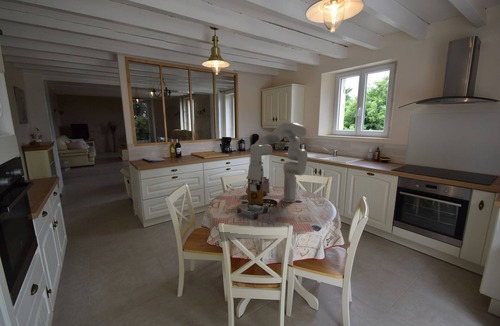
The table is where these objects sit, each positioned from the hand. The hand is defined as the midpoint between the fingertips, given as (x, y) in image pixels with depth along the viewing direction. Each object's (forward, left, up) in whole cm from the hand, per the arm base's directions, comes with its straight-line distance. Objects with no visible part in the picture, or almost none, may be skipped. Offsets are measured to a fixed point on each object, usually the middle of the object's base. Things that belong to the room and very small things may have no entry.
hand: (255, 189), depth 151 cm
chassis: (-1, -2, -18) cm, 18 cm away
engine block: (0, 0, 0) cm, 0 cm away
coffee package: (-18, -11, -18) cm, 28 cm away
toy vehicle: (-35, -20, -18) cm, 44 cm away
